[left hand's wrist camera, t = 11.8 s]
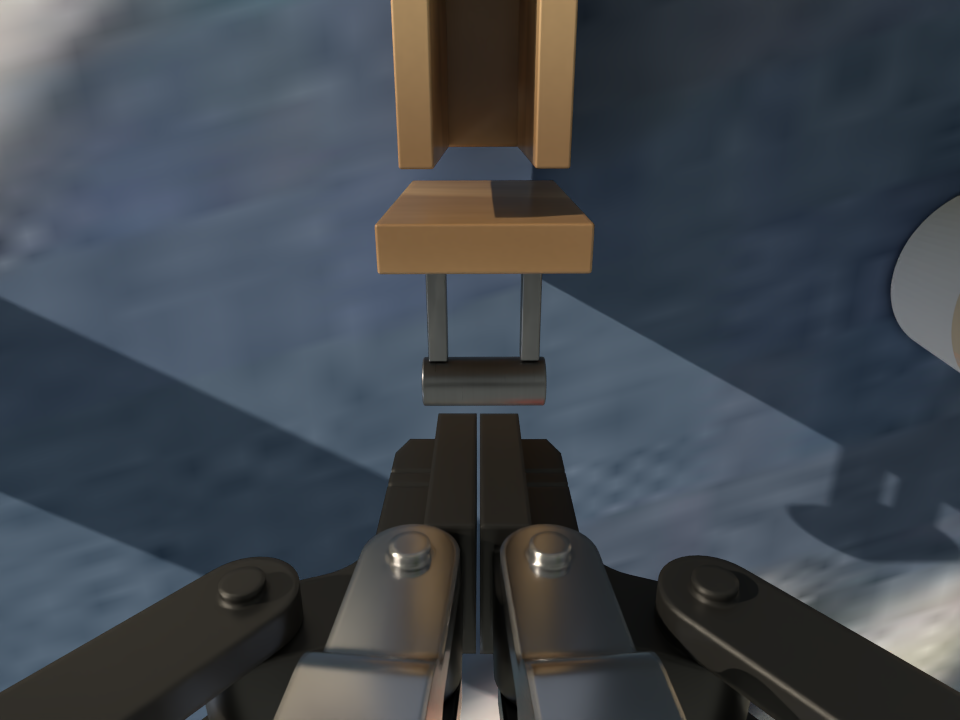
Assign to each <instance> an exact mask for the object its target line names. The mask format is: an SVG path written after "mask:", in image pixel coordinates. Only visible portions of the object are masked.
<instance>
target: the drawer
mask: <svg viewBox="0 0 960 720" xmlns="http://www.w3.org/2000/svg"><path fill="white" fill-rule="evenodd" d="M577 11H578V0H391V14H392V34H393V55H394V76H395V97H396V118H397V138H398V159H399V168H400V169H433V168H434V167H435V165H436V164H437V162H438V161H439V159H440V158H441V157H442V155H443V154H444V152H445V151H446V150H447V148H448V147H519V149H520V150H521V151H522V152H523V153H524V155H525V156H526V157H527V158H528V159H529V160H530V162H531V163H532V164H533V165H534V166H535V167H536V168H537V169H546V168H570V163H571V141H572V119H573V97H574V76H575V54H576V32H577ZM594 227H595V226H594V223H593V222H592V221H591V220H590V219H589V218H588V217H587V216H586V215H585V214H584V213H583V212H582V211H581V210H580V209H579V207H578V206H577V205H576V204H575V203H574V202H573V201H572V200H571V199H570V198H569V197H568V196H567V195H566V194H565V192H564V191H563V190H562V189H561V188H560V187H559V186H558V185H557V184H556V183H555V182H554V181H553V180H484V181H412V183H411V184H410V185H409V186H408V187H407V188H406V190H405V191H404V192H403V193H402V194H401V195H400V197H399V198H398V199H397V200H396V201H395V202H394V204H393V205H392V206H391V207H390V208H389V209H388V211H387V212H386V213H385V214H384V215H383V217H382V218H381V219H380V220H379V221H378V222H377V224H376V225H375V237H376V253H377V269H378V273H379V274H426V298H427V326H428V354H429V357H424V359H423V365H422V398H423V404H424V405H425V406H500V405H544V404H545V400H546V364H545V359H544V357H539V352H540V322H541V291H542V274H562V273H591V271H592V259H593V243H594ZM447 274H521V306H520V357H448V317H447Z"/></svg>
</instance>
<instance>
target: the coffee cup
mask: <svg viewBox="0 0 960 720" xmlns="http://www.w3.org/2000/svg"><path fill="white" fill-rule="evenodd" d="M891 303H892V308H893V312H894V315H895V318H896V320H897V322H898V324H899V325H900V327H901V328H902V330H903V331H904V332H905V333H906V334H907V335H908V336H909V337H910V338H911V339H912V340H913V341H915V342H916V343H918V344H919V345H921V346H922V347H923V348H925V349H926V350H928V351H929V352H931V353H932V354H934V355H935V356H936V357H938V358H939V359H941V360H942V361H944V362H945V363H946V364H948V365H949V366H951V367H952V368H954V369H955V370H957V371H958V372H959V373H960V195H959V196H957V197H955V198H953V199H952V200H950V201H948V202H947V203H945V204H944V205H942V206H941V207H940V208H938V209H937V210H936V211H935V212H933V213H932V214H931V215H930V216H929V217H928V218H927V219H926V220H925V221H924V222H923V223H922V224H921V225H920V226H919V227H918V228H917V229H916V231H915V232H914V233H913V234H912V236H911V237H910V239H909V240H908V242H907V243H906V245H905V246H904V248H903V250H902V252H901V254H900V256H899V258H898V261H897V263H896V266H895V269H894V273H893V277H892V283H891Z"/></svg>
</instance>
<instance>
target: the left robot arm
mask: <svg viewBox="0 0 960 720" xmlns="http://www.w3.org/2000/svg"><path fill="white" fill-rule="evenodd" d="M388 484H389V485H388V487H387V491H386V495H385V500H384V504H383V508H382V512H381V516H380V520H379V524H378V529H377V533H376V535H375V536H374V537H373V538H371V539H370V540H369V541H368V542H367V543H366V545H365V546H364V548H363V550H362V551H361V554H360V557H359V559H358V561H356V562H355V563H353V564H351V565H349V566H347V567H345V568H344V569H341V570H338V571H336V572H333V573H329V574H325V575H321V576H317V577H312V578H308V579H304V580H299V577H298V574H297V572H296V571H295V569H294V568H293V567H292V566H291V565H289V564H288V563H286V562H284V561H282V560H279V559H276V558H270V557H250V558H245V559H240V560H236V561H233V562H230V563H227V564H225V565H222V566H220V567H218V568H216V569H214V570H213V571H211V572H209V573H207V574H206V575H204V576H202V577H200V578H199V579H197V580H195V581H193V582H192V583H190V584H188V585H186V586H185V587H183V588H181V589H180V590H178V591H176V592H174V593H173V594H171V595H169V596H167V597H166V598H164V599H162V600H160V601H159V602H157V603H155V604H153V605H152V606H150V607H148V608H146V609H145V610H143V611H141V612H139V613H138V614H136V615H134V616H133V617H131V618H129V619H127V620H126V621H124V622H122V623H120V624H119V625H117V626H115V627H113V628H112V629H110V630H108V631H106V632H105V633H103V634H101V635H99V636H98V637H96V638H94V639H93V640H91V641H89V642H87V643H86V644H84V645H82V646H80V647H79V648H77V649H75V650H73V651H72V652H70V653H68V654H66V655H65V656H63V657H61V658H59V659H58V660H56V661H54V662H52V663H51V664H49V665H47V666H46V667H44V668H42V669H40V670H39V671H37V672H35V673H33V674H32V675H30V676H28V677H26V678H25V679H23V680H21V681H19V682H18V683H16V684H14V685H12V686H11V687H9V688H7V689H6V690H4V691H2V692H0V720H185V719H186V718H188V717H189V716H190V715H192V714H193V713H194V712H196V711H197V710H198V709H200V708H201V707H203V706H204V705H205V704H206V709H207V714H208V715H207V716H206V717H205V718H203V719H202V720H460V714H461V706H462V654H476V554H477V414H439V415H438V421H437V429H436V436H435V439H410V440H409V441H408V442H407V443H406V444H405V445H404V446H403V447H402V448H401V449H399V450H398V451H397V452H396V454H395V458H394V462H393V466H392V473H391V475H390V479H389V483H388ZM480 654H493V659H494V678H495V682H496V684H497V687H498V706H499V714H500V720H758V719H757V718H755V717H754V716H753V715H751V714H750V713H749V712H748V709H749V704H750V701H751V702H752V703H753V704H755V705H756V706H757V707H759V708H760V709H762V710H763V711H764V712H766V713H767V714H768V715H770V716H771V717H772V718H774V719H775V720H960V692H958V691H956V690H954V689H953V688H951V687H949V686H947V685H946V684H944V683H942V682H941V681H939V680H937V679H935V678H934V677H932V676H930V675H928V674H927V673H925V672H923V671H921V670H920V669H918V668H916V667H914V666H913V665H911V664H909V663H907V662H906V661H904V660H902V659H901V658H899V657H897V656H895V655H894V654H892V653H890V652H888V651H887V650H885V649H883V648H881V647H880V646H878V645H876V644H874V643H873V642H871V641H869V640H867V639H866V638H864V637H862V636H861V635H859V634H857V633H855V632H854V631H852V630H850V629H848V628H847V627H845V626H843V625H841V624H840V623H838V622H836V621H834V620H833V619H831V618H829V617H827V616H826V615H824V614H822V613H820V612H819V611H817V610H815V609H814V608H812V607H810V606H808V605H807V604H805V603H803V602H801V601H800V600H798V599H796V598H794V597H793V596H791V595H789V594H787V593H786V592H784V591H782V590H780V589H779V588H777V587H775V586H774V585H772V584H770V583H768V582H767V581H765V580H763V579H761V578H760V577H758V576H756V575H754V574H753V573H751V572H749V571H747V570H746V569H744V568H742V567H740V566H738V565H736V564H734V563H731V562H729V561H726V560H723V559H719V558H715V557H710V556H700V555H696V556H685V557H680V558H677V559H675V560H673V561H671V562H669V563H668V564H666V565H665V566H664V567H663V569H662V570H661V572H660V574H659V578H658V581H655V580H651V579H646V578H642V577H637V576H633V575H629V574H625V573H622V572H619V571H616V570H614V569H611V568H609V567H607V566H606V565H604V564H603V562H602V559H601V557H600V554H599V551H598V550H597V548H596V546H595V545H594V543H593V542H592V541H591V540H590V539H589V538H587V537H586V536H585V535H583V534H582V533H580V532H579V530H578V525H577V521H576V517H575V512H574V508H573V504H572V499H571V495H570V491H569V487H568V482H567V478H566V473H565V469H564V465H563V460H562V456H561V453H560V452H559V451H558V450H557V449H556V448H555V447H554V446H553V445H552V444H551V443H550V442H549V441H548V440H547V439H521V433H520V425H519V417H518V414H480Z"/></svg>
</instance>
